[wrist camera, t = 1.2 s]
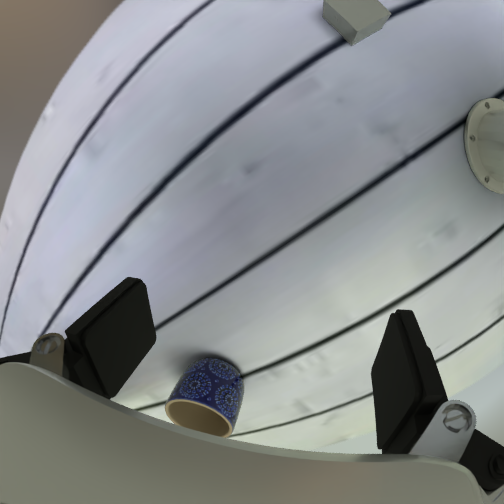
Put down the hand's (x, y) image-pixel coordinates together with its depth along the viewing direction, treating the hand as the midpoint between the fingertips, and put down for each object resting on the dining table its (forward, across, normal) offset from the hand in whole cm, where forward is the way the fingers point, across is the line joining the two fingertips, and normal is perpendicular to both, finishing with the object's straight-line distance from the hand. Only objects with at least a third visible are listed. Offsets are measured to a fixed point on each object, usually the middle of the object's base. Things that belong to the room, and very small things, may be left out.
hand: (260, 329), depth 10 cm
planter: (+24, +11, +31) cm, 41 cm away
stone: (+25, -6, -22) cm, 34 cm away
